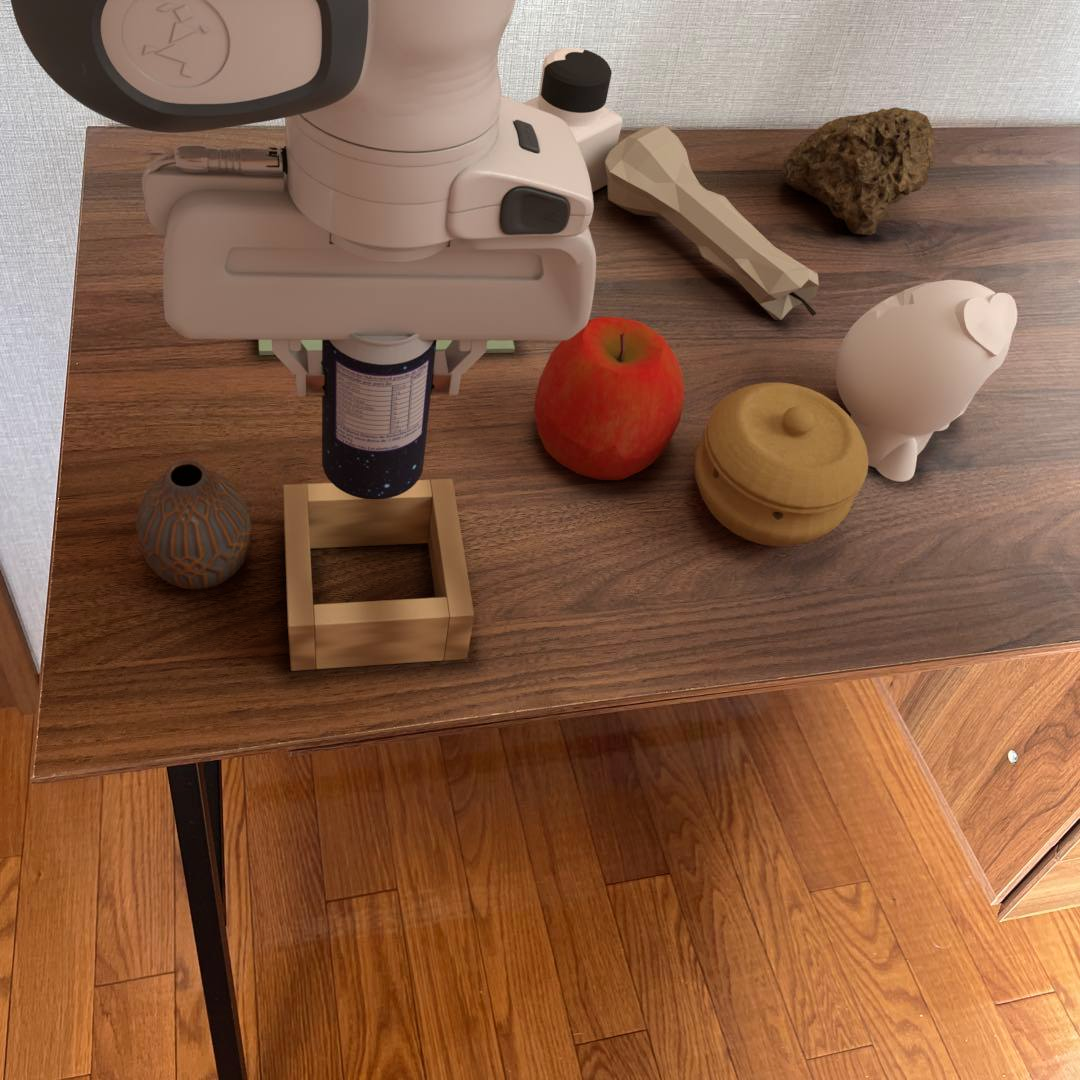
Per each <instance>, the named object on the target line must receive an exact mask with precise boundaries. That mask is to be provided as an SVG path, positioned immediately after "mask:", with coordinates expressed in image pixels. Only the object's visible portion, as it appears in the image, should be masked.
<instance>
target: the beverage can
mask: <svg viewBox="0 0 1080 1080" xmlns="http://www.w3.org/2000/svg"><path fill="white" fill-rule="evenodd" d="M349 337H350V338H349V339H347V340H322V365H323V369H324V372H325V385H324V388H325V396H321V464H322V469H323V473H324V474H325V476H326V478H327V479H328V481H330V483H332V484H334V485H335V486H336V487H337V488H338V489H340V490H341V491H343V492H345V493H347V494H349V495H352V496H355V497H359V498H362V499H368V500H380V499H387V498H391V497H395V496H398V495H400V494H402V493H404V492H406V491H407V490H409V489H410V488H412V487H413V486H414V485H415V484H416V482H417V481H418V480H420V479H421V476H422V474H423V470H424V463H425V453H426V444H427V436H428V435H427V434H428V425H429V417H430V416H429V415H430V409H431V408H430V407H431V397H432V395H431V387H432V377H433V370H434V361H435V351H436V342H437V340H419V339H418V338H417V337H419V335H418V334H414V335H412V336H410V337H409V336H357V335H355V334H350V335H349Z"/></svg>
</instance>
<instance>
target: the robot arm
mask: <svg viewBox="0 0 1080 1080" xmlns="http://www.w3.org/2000/svg"><path fill="white" fill-rule="evenodd" d="M515 3H516V0H10V4H11V5H10V6H11V9H12V12H13V16H14V20H15V22H16V25H17V27H18V30H19V32H20V35H21V37H22V38H23V40H24V42H25V44H26V46H27V49H28V50H29V51H30V53H31V55H32V56H33V57H34V59H35V60H36V61H37V63H38V65H39V66H40V67H41V68H42V69H43V71H44V72H45V73H46V74H47V76H49V78H50V79H52V81H53V82H54V83H55V84H56V85H57V86H58V87H59V88H61V89H62V90H63V91H64V92H65V93H66V94H67V95H69V96H70V97H71V98H73V99H74V100H75V101H76V102H78V103H79V104H81V105H83V106H84V107H85V108H87V109H88V110H91V111H92V112H95V113H97V114H98V115H100V116H102V117H104V118H107V119H108V120H110V121H113V122H116V123H119V124H121V125H124V126H127V127H130V128H135V129H139V130H143V131H148V132H157V133H169V134H170V133H171V134H179V133H180V134H181V133H194V132H202V131H203V132H204V131H211V130H216V129H217V130H218V129H225V128H232V127H239V126H245V125H251V124H258V123H264V122H269V121H274V120H279V119H284V133H285V145H284V146H283V147H271V146H270V147H268V146H267V147H265V146H240V147H238V146H236V147H233V148H232V147H220V148H219V147H213V146H212V147H209V146H208V145H207V144H206V145H205V144H193V143H192V144H191V143H190V144H189V143H188V144H181V145H180V144H179V145H177V146H175V147H174V153H168V154H163V155H161V156H159V157H157V158H156V159H153V161H151V162H150V163H149V164H148V165H147V167H146V168H145V169H144V170H143V174H142V177H141V182H140V183H141V185H140V186H141V192H142V200H143V207H144V212H145V216H146V218H147V220H148V222H149V223H150V224H151V226H152V227H153V229H154V230H155V231H156V232H157V233H158V234H160V235H161V236H163V237H164V242H163V243H164V245H163V265H162V266H163V269H162V298H163V299H162V301H163V312H164V314H163V315H164V320H165V322H166V324H167V325H168V326H170V327H171V328H172V329H173V330H174V331H175V332H176V333H177V334H179V336H182V337H183V338H184V339H186V340H241V341H242V340H244V341H245V340H246V341H247V340H248V341H249V340H252V341H253V340H272V352H273V353H274V354H275V355H274V356H276V358H277V359H279V361H280V362H281V363H282V364H283V365H284V367H286V369H287V370H288V371H289V372H290V373H291V374H292V375H294V379H295V381H294V382H295V396H296V398H297V397H298V398H299V397H301V398H302V397H303V398H304V397H306V398H307V397H322V396H325V388H324V385H325V372H324V369H323V365H322V351H307V349H306V348H305V346H304V345H303V344H302V342H301V340H347V339H349V338H350V337H349V335H350V334H355V335H357V336H409V337H410V336H412V335H414V334H418V335H419V337H417V338H418V339H419V340H453V341H452V342H451V343H450V344H449V346H448V347H447V348H446V349H445V351H435V361H434V370H433V377H432V387H431V396H458V395H459V393H460V391H459V390H460V385H461V377H462V375H464V374H466V372H467V371H468V370H469V369H471V367H473V365H474V364H476V362H477V361H478V360H480V358H481V357H482V356H483V355H484V354H486V353H485V352H486V347H487V341H488V340H513V341H529V342H530V341H533V342H535V341H536V342H537V341H541V342H543V341H545V342H546V341H547V342H549V341H550V342H551V341H552V342H553V341H554V342H561V341H565V340H569V339H570V338H572V337H573V336H575V335H576V334H577V333H578V332H580V331H581V330H582V329H583V328H584V327H586V325H587V323H588V321H589V320H590V316H591V313H592V309H593V302H594V296H595V289H596V274H597V253H596V249H595V244H594V240H593V237H592V234H591V231H590V227H589V226H590V224H591V221H592V219H593V214H594V210H595V209H594V207H595V206H594V205H595V204H594V194H593V193H592V188H591V182H590V178H589V173H588V170H587V167H586V163H585V161H584V158H583V155H582V153H581V150H580V148H579V146H578V143H577V141H576V139H575V137H574V135H573V133H572V131H571V130H570V128H569V126H568V124H567V123H566V122H565V121H564V120H562V119H561V118H559V117H557V116H555V115H552V114H550V113H547V112H544V111H542V110H539V109H536V108H533V107H531V106H528V105H525V104H523V103H524V102H520V101H517V100H515V99H512V98H510V97H507V96H505V95H502V94H503V93H502V84H501V78H500V72H499V65H498V63H499V59H498V58H499V50H500V45H501V41H502V38H503V35H504V33H505V31H506V28H507V26H508V25H509V22H510V20H511V17H512V14H513V11H514V8H515Z"/></svg>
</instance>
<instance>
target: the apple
mask: <svg viewBox="0 0 1080 1080" xmlns="http://www.w3.org/2000/svg"><path fill="white" fill-rule="evenodd" d="M685 396H686V391H685V384H684V377H683V372H682V369H681V366H680V364H679V361H678V358H677V357H676V355H675V353H674V351H673V349H672V348H671V346H670V345H669V343H668V341H667V339H665V337H663V336H662V335H661V334H659V333H658V332H656V331H655V330H653V329H652V328H651V327H649V326H648V325H647V324H646V323H644V322H642V321H638V320H633V319H630V318H625V317H616V316H615V317H614V316H598V317H594V318H591V319H590V318H589V321H588V323H587V325H586V327H584V328H583V329H582V330H581V331H580V332H578V333H577V334H576V335H575V336H573V337H572V338H570V339H569V340H565V341H559V343H558V344H557V345H556V346H555V348H554V349H553V350H552V352H551V353H550V355H549V357H548V359H547V361H546V364H545V366H544V368H543V371H542V373H541V374H540V378H539V380H538V384H537V388H536V392H535V396H534V406H533V412H534V417H535V422H536V426H537V427H536V428H537V432H538V436H539V438H540V440H541V443H542V445H543V448H544V450H545V451H546V452H547V453H548V454H549V455H550V456H551V457H552V458H553V459H554V460H555V461H556V462H557V463H559V464H561V465H562V466H564V467H565V468H567V469H568V470H570V471H572V472H574V473H575V474H577V475H581V476H584V477H589V478H592V479H596V480H599V481H600V480H601V481H622V480H623V479H627V478H629V477H630V476H633V475H636V474H637V473H641V472H642V471H644V470H645V469H646V468H648V467H649V466H650V465H652V464H653V463H655V461H656V460H657V459H658V458H659V457H660V456H661V454H662V453H663V452H664V451H665V450H666V449H667V447H668V445H669V444H670V442H671V440H672V438H673V436H674V434H675V432H676V430H677V428H678V426H679V424H680V422H681V418H682V412H683V406H684V401H685Z"/></svg>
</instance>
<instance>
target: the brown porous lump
mask: <svg viewBox="0 0 1080 1080" xmlns="http://www.w3.org/2000/svg"><path fill="white" fill-rule="evenodd" d="M934 134H935V133H934V128H933V127H932V125H931V122H930V120H929V118H928V116H927V115H926V114H924V113H921V112H920V111H919V110H911V109H908V108H901V107H891V108H889V109H885V108H880V109H879V110H878V111H874V110H873V111H871V112H868V113H863V114H855V115H846V116H840V117H838V118H835V119H833V120H831V121H827V122H825V123H824V124H823V125H822V126H820V127H819V128H817V130H816V131H815V132H813V133H812V134H810V135H809V136H807V138H805V139H803V140H802V141H800V143H799V144H798V145H797V146H795V147H793V148H792V149H791V150H790V152H789V153H788V155H787V156H786V157H785V158H784V160H783V162H782V164H781V167H782V169H781V173H782V174H783V176H784V179H785V183H786V184H787V185H789V186H790V187H792V188H793V189H794V190H796V191H797V192H798V191H800V192H803V193H804V192H805V193H806V194H807V195H808V196H811V197H812V198H815V199H817V200H818V201H819V202H821V203H822V204H824V205H826V206H828V208H829V210H830V212H831V214H832V215H833V216H834V217H836V219H838V220H839V219H840V220H843V221H844V222H845V225H846V227H847V230H848V231H850V232H851V233H852V234H854V235H863V236H872V235H874V234H875V233H876V230H877V226H878V223H882V221H884V220H885V219H886V218H888V215H889V212H890V210H891V206H892V204H896V203H899V202H900V201H902V200H903V199H904V198H905V196H909V194H911V193H914V192H917V191H919V190H921V189H922V188H923V187H924V186H925V184H927V182H928V180H929V175H928V174H927V173H928V171H930V169H931V167H933V166H934V164H935V160H934V157H933V154H932V148H933V147H934V145H935V140H934Z"/></svg>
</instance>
